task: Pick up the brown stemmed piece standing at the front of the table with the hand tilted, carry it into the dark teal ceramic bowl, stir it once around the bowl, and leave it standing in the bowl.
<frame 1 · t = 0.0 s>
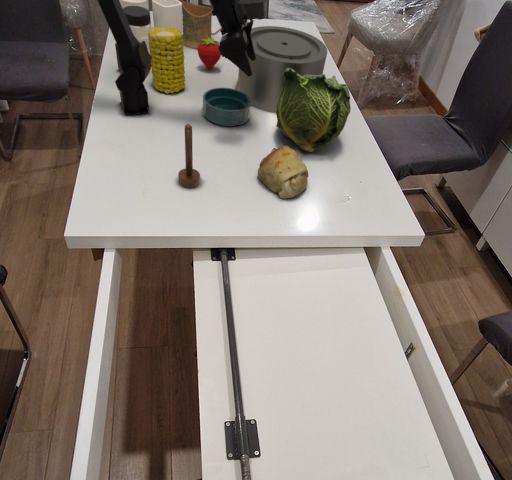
hand: (252, 67, 105), 15 cm above the table, tool tilted 35°, fingers open, 9 cm apart
mug: (205, 43, 147), on the table
jar: (140, 57, 135), on the table
strawberry: (209, 70, 135), on the table
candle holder: (137, 41, 141), on the table
cup: (169, 58, 137), on the table
brown stemmed piece: (189, 182, 100), on the table
pastry: (281, 183, 104), on the table
vegetable: (305, 141, 117), on the table
food: (168, 87, 126), on the table
box: (132, 72, 128), on the table
bowl: (226, 115, 120), on the table
container: (277, 93, 131), on the table
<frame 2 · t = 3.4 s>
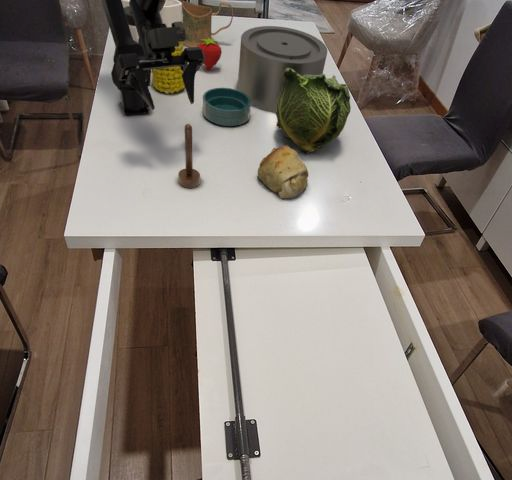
hand: (173, 106, 92), 14 cm above the table, tool tilted 45°, fingers open, 9 cm apart
nothing on the table moved.
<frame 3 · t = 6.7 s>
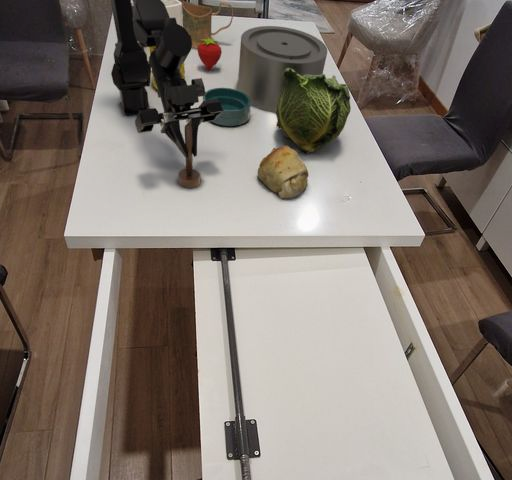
hand: (191, 157, 93), 7 cm above the table, tool tilted 45°, fingers closed on brown stemmed piece
brown stemmed piece: (189, 182, 100), on the table, touching gripper
everything else where it was.
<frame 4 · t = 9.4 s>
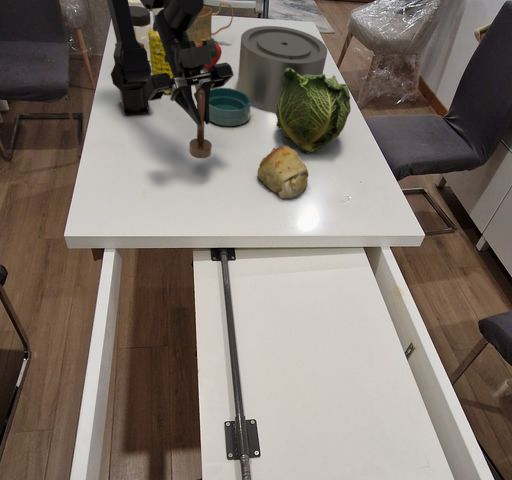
hand: (204, 124, 90), 13 cm above the table, tool tilted 45°, fingers closed on brown stemmed piece
brown stemmed piece: (200, 152, 97), point 6 cm above the table, touching gripper
everything else where it was.
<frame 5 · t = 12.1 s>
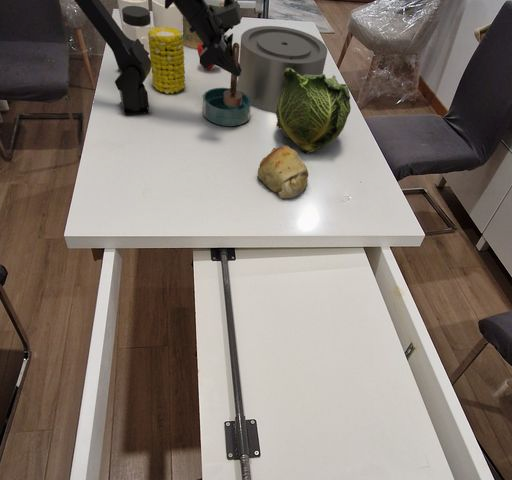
hand: (239, 73, 106), 13 cm above the table, tool tilted 45°, fingers closed on brown stemmed piece
brown stemmed piece: (232, 102, 112), point 6 cm above the table, touching gripper
everything else where it was.
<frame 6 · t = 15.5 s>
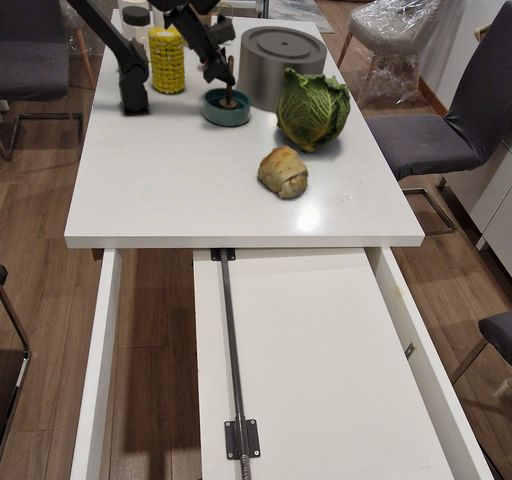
hand: (234, 83, 114), 8 cm above the table, tool tilted 45°, fingers closed on brown stemmed piece
brown stemmed piece: (227, 109, 119), point 1 cm above the table, touching gripper
everything else where it was.
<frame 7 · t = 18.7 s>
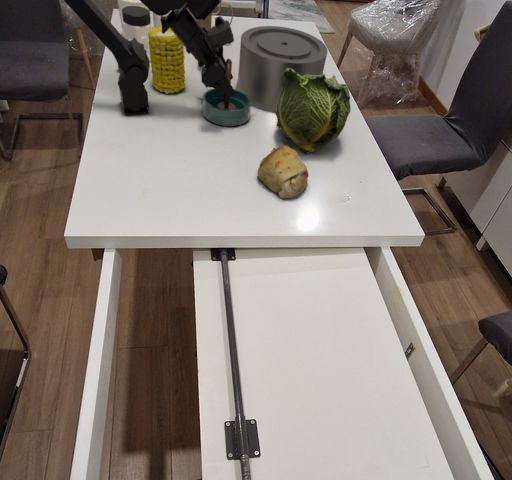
hand: (233, 86, 113), 8 cm above the table, tool tilted 45°, fingers open, 9 cm apart
brown stemmed piece: (226, 113, 119), point 1 cm above the table, touching bowl
everything else where it was.
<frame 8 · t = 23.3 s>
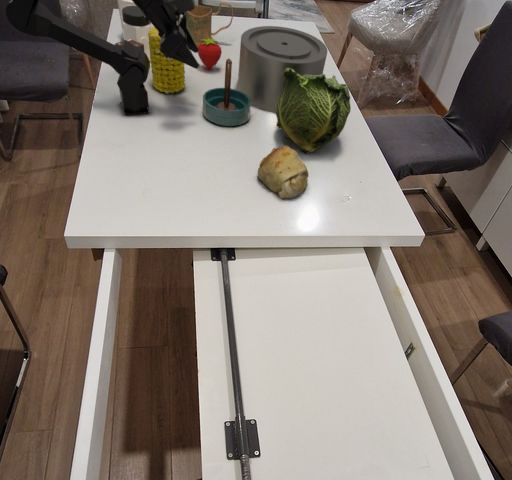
hand: (197, 59, 107), 14 cm above the table, tool tilted 45°, fingers open, 9 cm apart
nothing on the table moved.
at the end: brown stemmed piece inside the target area in the bowl (0.0 cm from its centre), point 0.6 cm above the bowl's base; brown stemmed piece tilted 0°; the gripper is holding nothing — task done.
